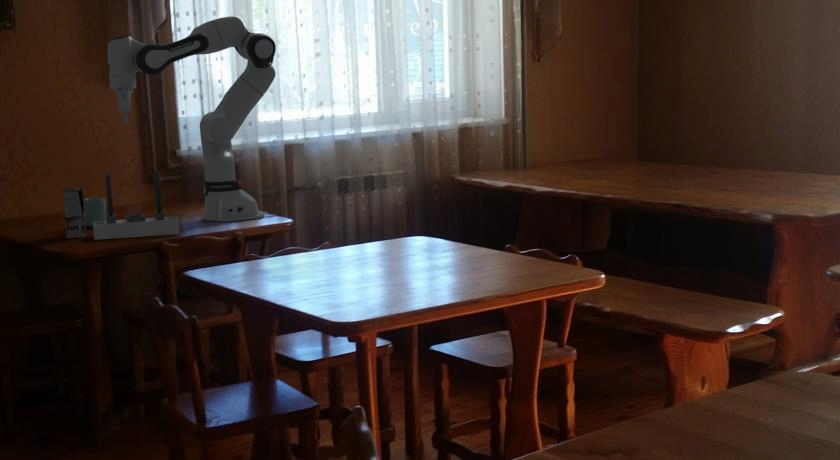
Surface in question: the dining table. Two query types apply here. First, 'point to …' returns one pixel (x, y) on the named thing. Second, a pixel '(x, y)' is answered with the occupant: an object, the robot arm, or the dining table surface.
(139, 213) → the block
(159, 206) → the cord
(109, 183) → the cord
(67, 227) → the coffee box
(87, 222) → the cup
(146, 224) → the power strip
